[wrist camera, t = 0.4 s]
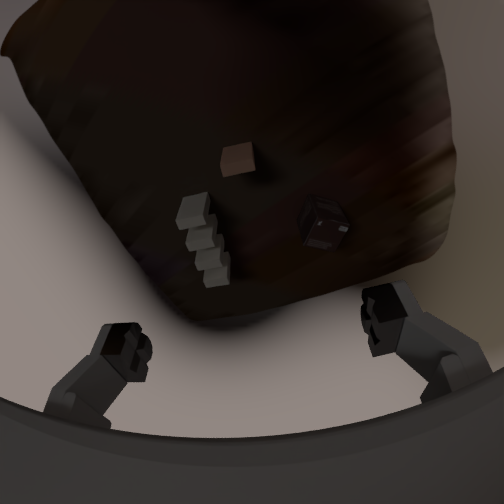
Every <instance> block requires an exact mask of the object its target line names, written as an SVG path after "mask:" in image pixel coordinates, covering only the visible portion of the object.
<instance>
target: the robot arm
mask: <svg viewBox="0 0 504 504" xmlns="http://www.w3.org/2000/svg"><path fill="white" fill-rule="evenodd" d="M362 300H363V305H362V306H361V321H362V326H363V329H364V332H365V333H367V334H368V335H369V337H368V344H369V347H370V350H371V353H372V356H373V357H376V356H380V355H385V354H389V353H393V352H396V354H397V355H398V356H399V357H400V358H402V359H403V360H404V361H405V362H406V363H407V364H408V365H410V366H411V367H412V368H413V369H414V370H415V371H416V372H418V373H419V374H420V375H421V376H422V377H423V378H424V379H426V380H427V381H428V382H429V383H428V385H427V386H426V388H425V390H424V391H423V393H422V395H421V397H420V399H421V402H422V404H419V405H416V406H413V407H411V408H407V409H404V410H401V411H398V412H394V413H391V414H387V415H384V416H380V417H377V418H373V419H369V420H365V421H361V422H357V423H352V424H347V425H343V426H337V427H332V428H326V429H320V430H315V431H308V432H301V433H293V434H284V435H274V436H261V437H245V438H188V437H171V436H159V435H149V434H141V433H133V432H125V431H120V430H113V429H110V428H111V422H110V421H109V420H108V419H107V418H105V417H104V416H103V414H104V413H105V412H106V410H107V409H108V408H109V407H110V405H111V404H112V403H113V401H114V400H115V399H116V397H117V396H118V395H119V394H120V392H121V391H122V390H123V388H124V387H125V386H126V385H127V382H145V380H146V376H147V372H148V366H147V364H146V363H147V362H148V361H149V360H150V359H151V356H152V353H153V352H152V344H151V341H150V339H149V338H148V336H146V335H145V334H143V333H141V331H142V328H141V327H140V325H139V324H138V323H135V322H132V323H114V324H104V325H103V326H102V328H101V330H100V332H99V335H98V337H97V339H96V341H95V343H94V346H93V348H92V351H91V353H90V355H86V357H84V358H83V359H82V360H81V361H80V362H79V363H78V364H77V365H76V366H75V367H74V368H73V369H72V370H71V371H70V372H68V374H66V375H65V376H64V377H63V378H62V379H61V380H60V381H59V382H58V383H57V384H56V385H55V386H54V387H53V388H52V390H51V393H50V395H49V397H48V401H47V403H46V405H45V408H44V411H43V412H39V411H36V410H33V409H30V408H28V407H25V406H22V405H19V404H17V403H14V402H11V401H8V400H6V399H4V398H2V397H0V504H504V367H503V368H501V369H499V370H497V371H495V372H494V373H493V372H492V370H491V368H490V366H489V364H488V361H487V359H486V358H485V356H484V354H483V352H482V350H481V348H480V346H479V344H478V342H476V341H474V340H473V339H471V338H470V337H468V336H466V335H464V334H463V333H461V332H460V331H458V330H457V329H455V328H453V327H452V326H450V325H448V324H446V323H445V322H443V321H442V320H440V319H438V318H437V317H435V316H433V315H432V314H430V313H428V312H424V313H423V311H422V310H421V308H420V306H419V304H418V302H417V300H416V299H415V297H414V296H413V293H412V292H411V290H410V288H409V286H408V285H407V283H406V281H404V280H400V281H395V282H391V283H387V284H382V285H378V286H374V287H369V288H365V289H363V290H362Z"/></svg>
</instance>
